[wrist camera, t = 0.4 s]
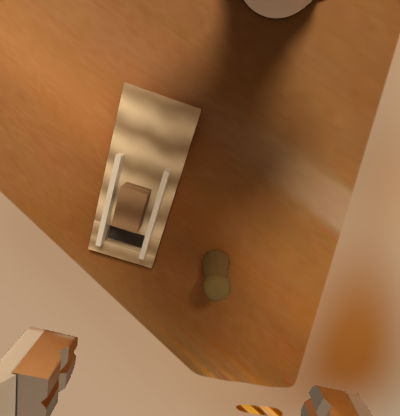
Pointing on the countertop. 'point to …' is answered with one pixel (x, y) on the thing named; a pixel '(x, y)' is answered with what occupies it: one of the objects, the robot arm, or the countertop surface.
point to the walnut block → (131, 207)
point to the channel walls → (111, 197)
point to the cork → (216, 275)
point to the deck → (145, 165)
